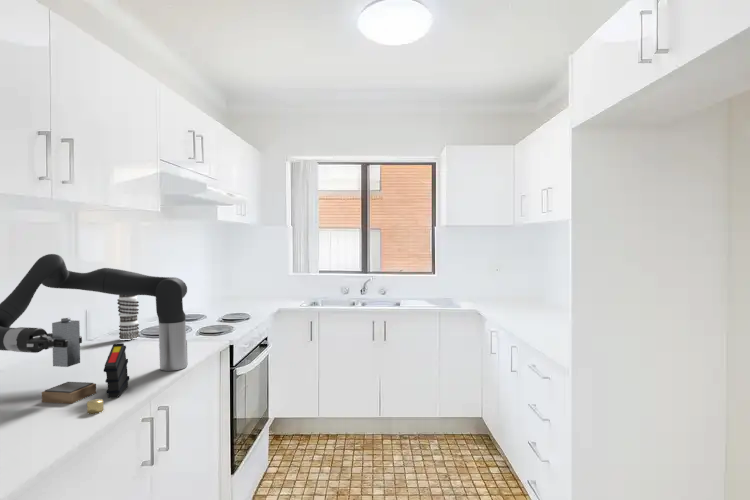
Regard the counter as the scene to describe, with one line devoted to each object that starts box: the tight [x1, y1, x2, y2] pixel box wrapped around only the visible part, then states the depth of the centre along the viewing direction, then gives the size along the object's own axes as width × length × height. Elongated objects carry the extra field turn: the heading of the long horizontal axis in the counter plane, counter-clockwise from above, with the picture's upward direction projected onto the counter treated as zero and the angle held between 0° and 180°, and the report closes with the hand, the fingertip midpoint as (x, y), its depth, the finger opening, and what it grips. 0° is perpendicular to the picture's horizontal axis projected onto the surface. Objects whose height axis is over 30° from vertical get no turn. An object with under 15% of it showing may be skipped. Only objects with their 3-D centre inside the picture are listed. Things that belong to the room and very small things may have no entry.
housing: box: [51, 317, 81, 368], centre depth 154 cm, size 5×5×14 cm
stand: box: [41, 381, 97, 405], centre depth 154 cm, size 10×10×3 cm
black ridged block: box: [103, 343, 130, 399], centre depth 158 cm, size 4×13×15 cm, turn 12°
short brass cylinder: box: [86, 398, 105, 415], centre depth 142 cm, size 4×4×3 cm
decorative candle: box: [116, 295, 140, 340], centre depth 242 cm, size 9×9×25 cm
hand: (73, 341), depth 153 cm, fingers closed on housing, 5 cm apart
